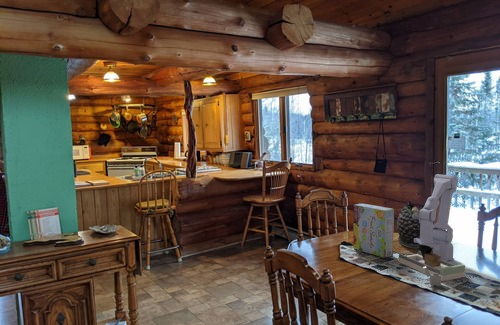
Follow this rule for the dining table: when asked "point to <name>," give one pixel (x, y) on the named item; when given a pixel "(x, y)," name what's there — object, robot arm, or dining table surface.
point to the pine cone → (408, 226)
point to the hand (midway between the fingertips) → (425, 260)
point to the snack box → (373, 229)
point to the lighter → (433, 277)
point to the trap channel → (445, 270)
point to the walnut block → (432, 259)
